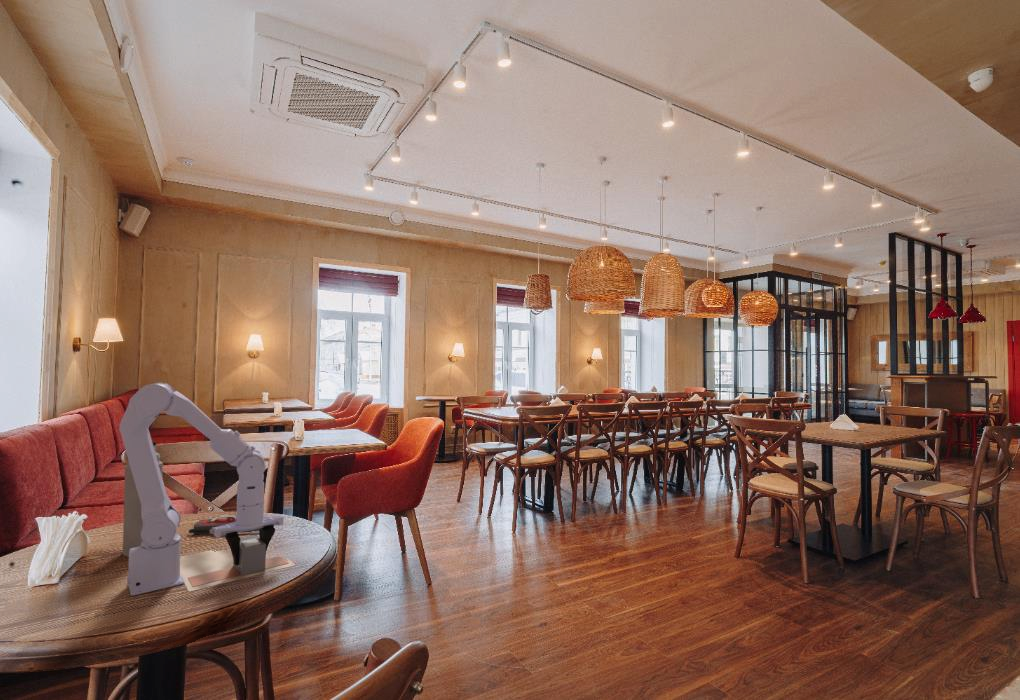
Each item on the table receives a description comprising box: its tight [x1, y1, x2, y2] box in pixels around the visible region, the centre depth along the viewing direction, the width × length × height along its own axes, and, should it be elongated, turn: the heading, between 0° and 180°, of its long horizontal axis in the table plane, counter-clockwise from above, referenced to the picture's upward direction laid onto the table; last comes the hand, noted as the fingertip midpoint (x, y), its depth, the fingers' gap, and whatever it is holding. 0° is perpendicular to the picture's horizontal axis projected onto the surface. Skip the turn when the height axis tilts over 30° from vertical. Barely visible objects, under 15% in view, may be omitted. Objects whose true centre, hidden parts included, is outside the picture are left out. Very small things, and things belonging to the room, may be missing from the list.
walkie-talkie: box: [188, 514, 259, 536], centre depth 146 cm, size 9×4×20 cm
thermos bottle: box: [122, 440, 164, 558], centre depth 131 cm, size 8×8×28 cm
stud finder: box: [233, 535, 266, 576], centre depth 120 cm, size 5×8×6 cm, turn 41°
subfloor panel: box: [180, 549, 296, 593], centre depth 124 cm, size 22×24×1 cm
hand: (249, 561), depth 120 cm, fingers closed on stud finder, 5 cm apart
